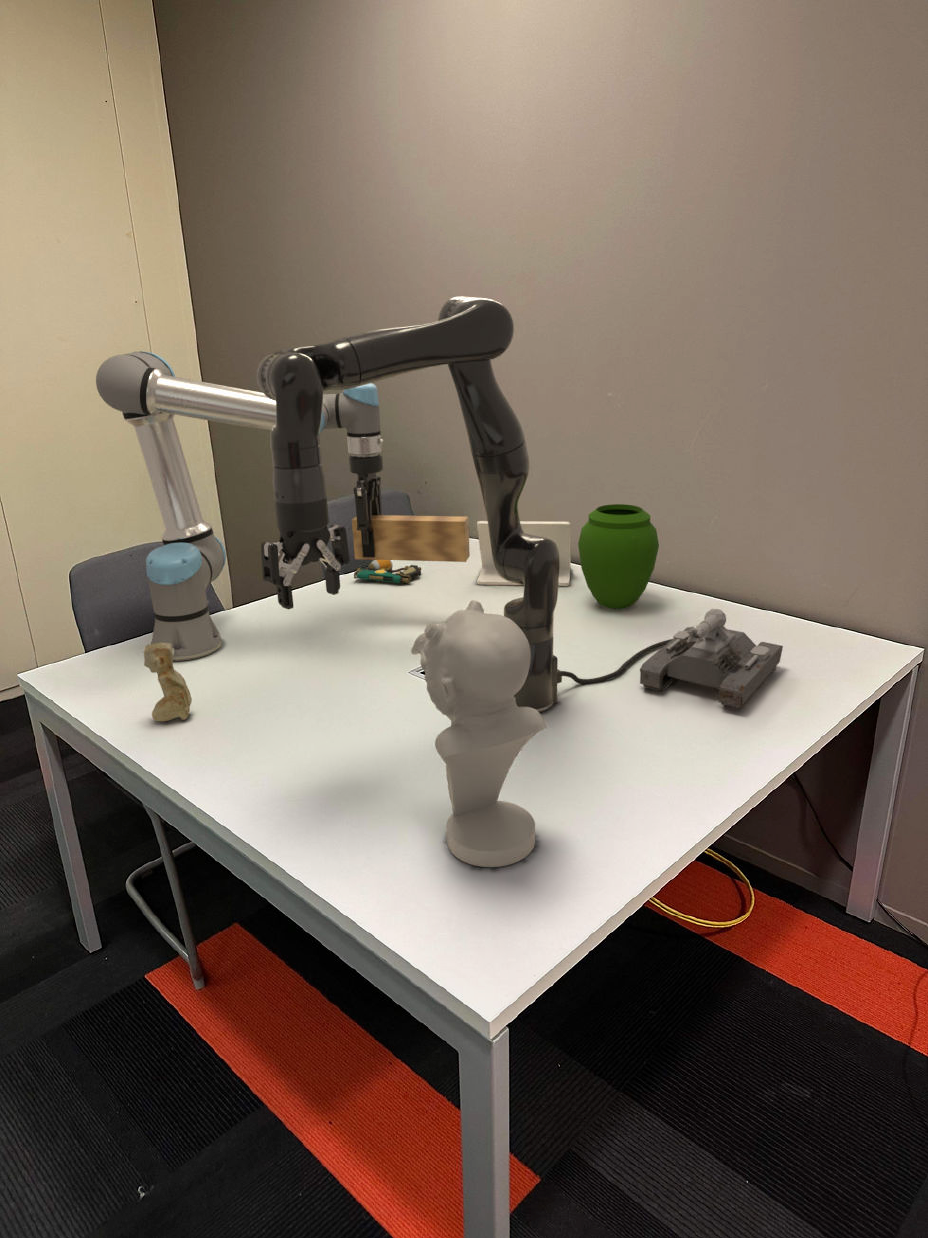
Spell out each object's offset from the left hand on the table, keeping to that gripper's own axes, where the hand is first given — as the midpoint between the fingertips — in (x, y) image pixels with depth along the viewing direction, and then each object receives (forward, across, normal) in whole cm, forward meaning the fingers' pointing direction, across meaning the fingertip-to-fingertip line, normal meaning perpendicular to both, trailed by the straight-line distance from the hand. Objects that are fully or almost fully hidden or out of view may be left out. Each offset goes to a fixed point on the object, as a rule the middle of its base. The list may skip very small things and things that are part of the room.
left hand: (372, 553), depth 201 cm
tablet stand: (+18, +41, -31) cm, 55 cm away
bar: (+1, 0, -10) cm, 10 cm away
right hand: (-13, -70, -12) cm, 72 cm away
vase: (+18, +20, -57) cm, 63 cm away
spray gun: (+18, +35, +7) cm, 39 cm away
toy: (+18, -23, -76) cm, 82 cm away
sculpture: (+18, -54, +24) cm, 61 cm away
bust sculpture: (+18, -81, -38) cm, 92 cm away
